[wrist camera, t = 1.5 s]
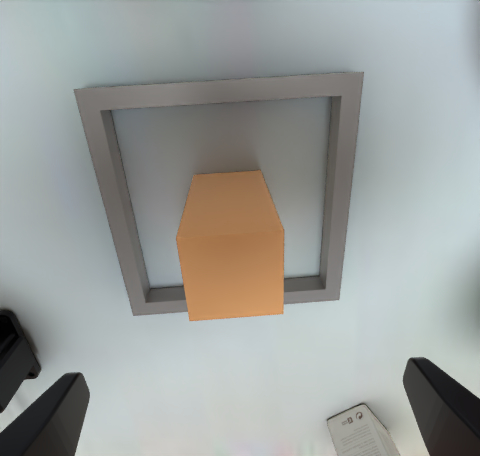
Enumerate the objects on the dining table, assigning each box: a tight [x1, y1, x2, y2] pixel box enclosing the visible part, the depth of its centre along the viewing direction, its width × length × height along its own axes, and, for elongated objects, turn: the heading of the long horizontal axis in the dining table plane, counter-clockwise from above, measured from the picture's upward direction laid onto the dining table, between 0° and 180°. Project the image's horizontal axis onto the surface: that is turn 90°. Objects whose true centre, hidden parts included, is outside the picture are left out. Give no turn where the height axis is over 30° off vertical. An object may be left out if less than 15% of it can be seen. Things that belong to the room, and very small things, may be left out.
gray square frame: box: [74, 72, 364, 316], centre depth 19 cm, size 14×14×2 cm
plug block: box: [176, 170, 284, 321], centre depth 16 cm, size 4×4×8 cm
